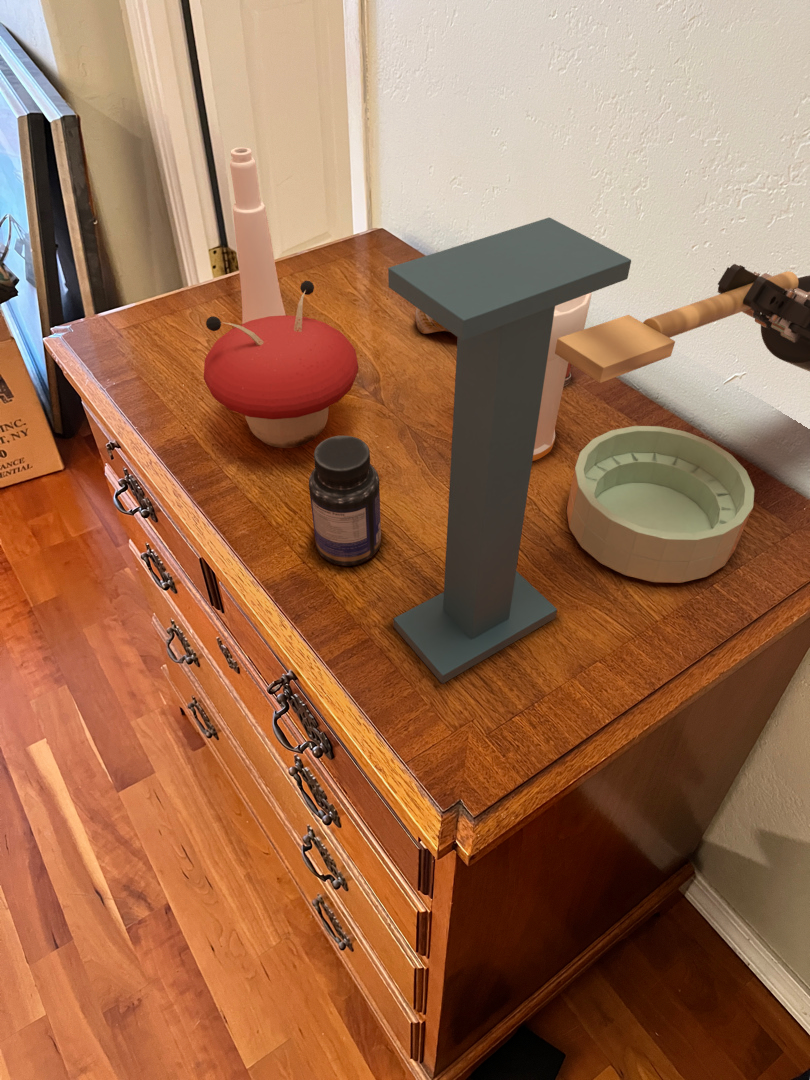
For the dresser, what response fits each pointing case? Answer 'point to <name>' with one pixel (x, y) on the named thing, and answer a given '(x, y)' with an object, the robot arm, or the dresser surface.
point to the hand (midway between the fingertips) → (741, 284)
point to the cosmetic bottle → (253, 242)
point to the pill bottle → (345, 501)
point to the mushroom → (281, 374)
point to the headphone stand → (494, 423)
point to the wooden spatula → (649, 333)
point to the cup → (557, 370)
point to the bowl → (658, 503)
